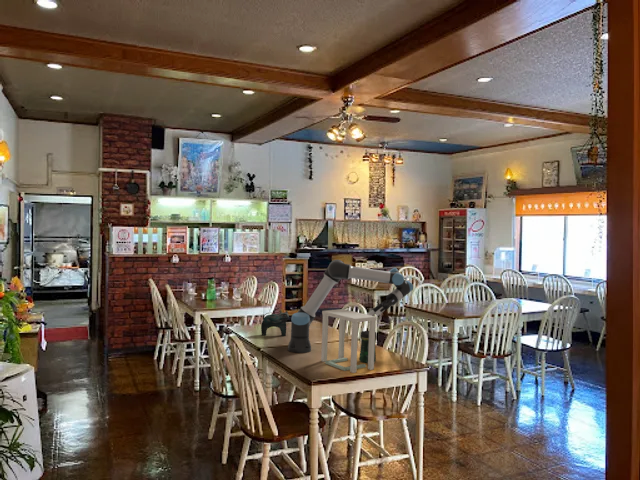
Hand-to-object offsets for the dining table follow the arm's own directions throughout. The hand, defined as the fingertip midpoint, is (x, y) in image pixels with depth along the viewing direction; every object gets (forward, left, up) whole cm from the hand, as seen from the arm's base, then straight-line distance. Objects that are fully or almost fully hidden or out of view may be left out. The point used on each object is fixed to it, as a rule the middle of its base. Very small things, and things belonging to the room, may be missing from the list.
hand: (371, 315), depth 327 cm
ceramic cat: (-60, +54, -25) cm, 84 cm away
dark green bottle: (-6, -19, -25) cm, 32 cm away
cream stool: (-20, -27, -24) cm, 42 cm away
